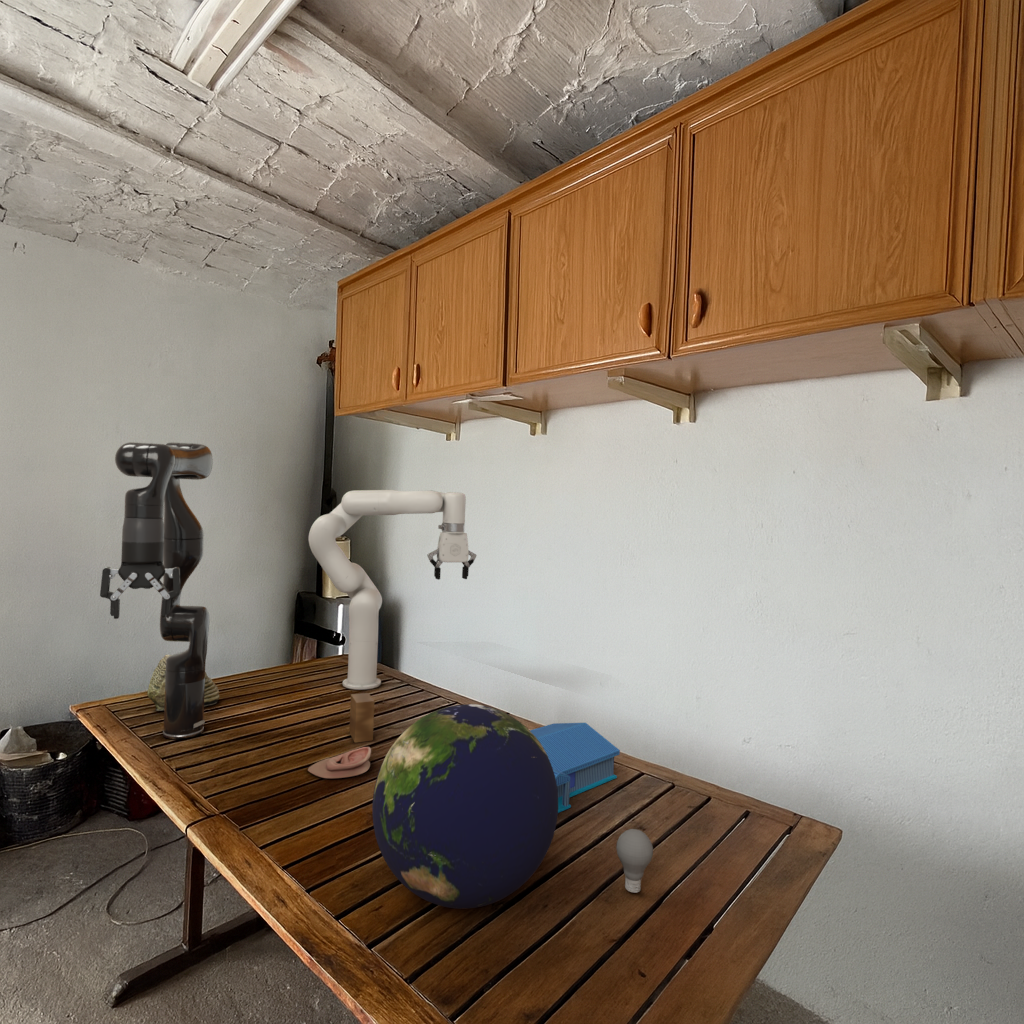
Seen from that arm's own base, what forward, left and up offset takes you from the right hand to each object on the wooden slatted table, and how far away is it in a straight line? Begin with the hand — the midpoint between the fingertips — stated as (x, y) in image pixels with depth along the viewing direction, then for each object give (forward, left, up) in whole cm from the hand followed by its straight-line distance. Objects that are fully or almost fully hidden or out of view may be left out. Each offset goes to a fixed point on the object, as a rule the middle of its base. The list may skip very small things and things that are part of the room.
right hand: (451, 578), depth 215 cm
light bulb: (+117, +16, -37) cm, 124 cm away
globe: (+113, -12, -37) cm, 119 cm away
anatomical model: (+63, -33, -37) cm, 80 cm away
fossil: (+13, -79, -37) cm, 88 cm away
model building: (+77, +9, -37) cm, 86 cm away
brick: (+43, -28, -37) cm, 63 cm away
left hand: (+69, -74, 0) cm, 101 cm away
